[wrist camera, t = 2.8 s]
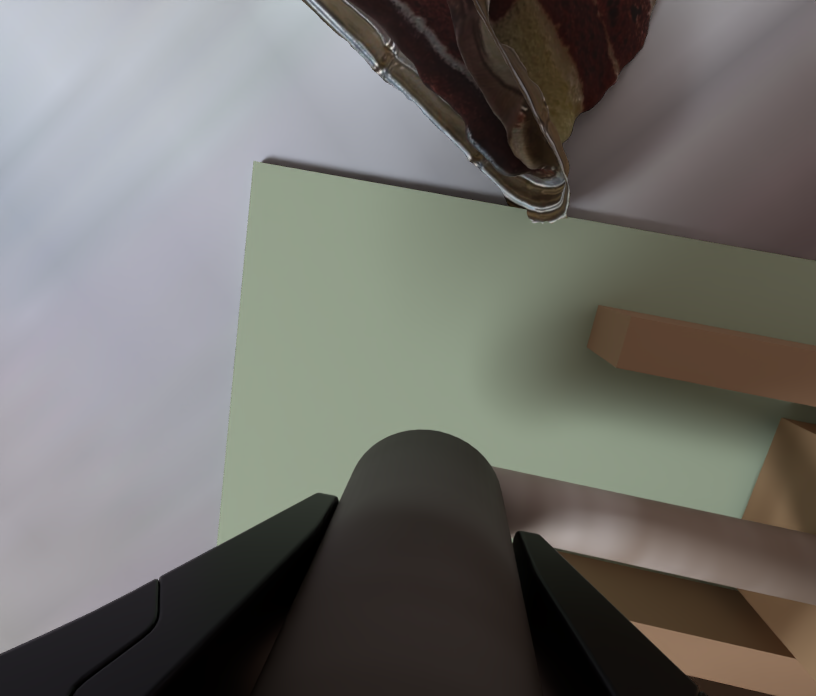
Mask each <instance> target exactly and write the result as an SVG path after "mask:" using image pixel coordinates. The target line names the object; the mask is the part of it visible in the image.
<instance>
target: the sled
mask: <svg viewBox="0 0 816 696" xmlns="http://www.w3.org/2000/svg"><path fill="white" fill-rule="evenodd" d="M517 531H526V532H531V533H537V534H539V535H541V536H542V537H543V538H544V539H545V540H546V541H547V542H548V543H549V544H550V545H551V546H552V547H553V548H558V549H562V550H567V551H571V552H576V553H580V554H585V555H590V556H594V557H599V558H603V559H608V560H612V561H617V562H621V563H626V564H630V565H635V566H639V567H644V568H648V569H653V570H657V571H662V572H666V573H671V574H676V575H680V576H685V577H689V578H694V579H698V580H703V581H707V582H712V583H716V584H721V585H725V586H730V587H734V588H737V589H738V591H739V592H740V593H741V594H742V595H743V597H744V598H745V599H746V600H747V601H748V602H749V604H750V605H751V606H752V607H753V608H754V610H755V611H756V612H757V613H758V614H759V615H760V617H761V618H762V619H763V620H764V621H765V623H766V624H767V625H768V626H769V627H770V628H771V630H772V631H773V632H774V633H775V634H776V635H777V637H778V638H779V639H780V640H781V641H782V643H783V644H784V645H785V646H786V647H787V648H788V650H789V651H790V652H791V653H792V654H793V656H794V657H795V658H796V659H797V660H798V661H799V663H800V664H801V665H802V666H803V667H804V668H805V670H806V671H807V672H808V673H809V674H810V676H811V677H812V678H813V679H814V680H815V681H816V424H811V423H806V422H801V421H796V420H791V419H786V418H781V420H780V422H779V425H778V428H777V430H776V433H775V435H774V438H773V440H772V443H771V445H770V448H769V450H768V453H767V456H766V458H765V461H764V463H763V466H762V468H761V471H760V473H759V476H758V478H757V481H756V484H755V486H754V489H753V491H752V494H751V496H750V499H749V501H748V504H747V506H746V509H745V512H744V514H743V517H742V519H739V518H735V517H730V516H725V515H721V514H716V513H711V512H706V511H702V510H697V509H692V508H688V507H683V506H678V505H673V504H669V503H664V502H659V501H655V500H650V499H645V498H640V497H636V496H631V495H626V494H622V493H617V492H612V491H607V490H603V489H598V488H593V487H589V486H584V485H579V484H574V483H570V482H565V481H560V480H556V479H551V478H546V477H541V476H537V475H532V474H527V473H522V472H518V471H513V470H508V469H504V468H499V467H494V466H491V465H490V463H489V462H488V461H487V460H486V458H485V457H484V456H483V455H482V454H481V453H480V452H479V451H478V450H477V449H475V448H474V447H473V446H471V445H470V444H469V443H467V442H465V441H463V440H462V439H460V438H458V437H455V436H453V435H451V434H448V433H444V432H440V431H435V430H423V429H417V430H407V431H403V432H399V433H396V434H393V435H390V436H388V437H386V438H384V439H382V440H380V441H379V442H377V443H376V444H375V445H373V446H372V447H371V448H370V449H369V450H368V451H367V452H365V454H364V455H363V456H362V457H361V459H360V460H359V461H358V463H357V465H356V467H355V468H354V470H353V473H352V475H351V477H350V479H349V481H348V483H347V486H346V488H345V490H344V492H343V494H342V496H341V499H340V501H339V503H338V505H337V507H336V510H335V512H334V514H333V516H332V518H331V520H330V523H329V525H328V527H327V529H326V531H325V533H324V536H323V538H322V540H321V542H320V544H319V546H318V549H317V551H316V553H315V555H314V557H313V560H312V562H311V564H310V566H309V568H308V570H307V573H306V575H305V577H304V579H303V581H302V583H301V586H300V588H299V590H298V592H297V594H296V597H295V599H294V601H293V603H292V605H291V607H290V610H289V612H288V614H287V616H286V618H285V620H284V623H283V625H282V627H281V629H280V631H279V633H278V636H277V638H276V640H275V642H274V644H273V647H272V649H271V651H270V653H269V655H268V657H267V660H266V662H265V664H264V666H263V668H262V670H261V673H260V675H259V677H258V679H257V681H256V683H255V686H254V688H253V690H252V692H251V694H250V696H543V691H542V686H541V681H540V676H539V671H538V666H537V661H536V657H535V652H534V647H533V642H532V637H531V632H530V627H529V622H528V618H527V613H526V608H525V603H524V598H523V593H522V588H521V583H520V578H519V574H518V569H517V564H516V559H515V554H514V549H513V544H512V539H511V538H514V535H515V533H516V532H517Z"/></svg>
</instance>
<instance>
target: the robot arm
mask: <svg viewBox="0 0 816 696" xmlns="http://www.w3.org/2000/svg"><path fill="white" fill-rule="evenodd" d="M338 503H339V500H338V497H337V496H335V495H330V494H324V493H315V494H313V495H311V496H310V497H308V498H306V499H304V500H302V501H300V502H298V503H296V504H295V505H293V506H291V507H289V508H287V509H285V510H283V511H282V512H280V513H278V514H276V515H274V516H272V517H270V518H268V519H267V520H265V521H263V522H261V523H259V524H257V525H255V526H254V527H252V528H250V529H248V530H246V531H244V532H242V533H240V534H239V535H237V536H235V537H233V538H231V539H229V540H227V541H226V542H224V543H222V544H220V545H218V546H216V547H214V548H212V549H211V550H209V551H207V552H205V553H203V554H201V555H199V556H198V557H196V558H194V559H192V560H190V561H188V562H186V563H184V564H183V565H181V566H179V567H177V568H175V569H173V570H171V571H170V572H168V573H166V574H164V575H162V576H161V577H160V578H159V580H158V579H154V580H152V581H150V582H149V583H147V584H145V585H143V586H141V587H139V588H137V589H136V590H134V591H132V592H130V593H128V594H126V595H124V596H122V597H120V598H118V599H116V600H114V601H112V602H110V603H108V604H106V605H104V606H102V607H100V608H99V609H97V610H95V611H93V612H91V613H88V614H86V615H84V616H82V617H80V618H78V619H76V620H74V621H71V622H69V623H67V624H65V625H63V626H61V627H59V628H56V629H54V630H52V631H50V632H48V633H46V634H44V635H41V636H39V637H37V638H35V639H32V640H30V641H28V642H26V643H24V644H21V645H19V646H17V647H15V648H12V649H10V650H8V651H6V652H3V653H1V654H0V696H250V694H251V692H252V690H253V688H254V686H255V683H256V681H257V679H258V677H259V675H260V673H261V670H262V668H263V666H264V664H265V662H266V660H267V657H268V655H269V653H270V651H271V649H272V647H273V644H274V642H275V640H276V638H277V636H278V633H279V631H280V629H281V627H282V625H283V623H284V620H285V618H286V616H287V614H288V612H289V610H290V607H291V605H292V603H293V601H294V599H295V597H296V594H297V592H298V590H299V588H300V586H301V583H302V581H303V579H304V577H305V575H306V573H307V570H308V568H309V566H310V564H311V562H312V560H313V557H314V555H315V553H316V551H317V549H318V546H319V544H320V542H321V540H322V538H323V536H324V533H325V531H326V529H327V527H328V525H329V523H330V520H331V518H332V516H333V514H334V512H335V510H336V507H337V505H338ZM512 544H513V549H514V554H515V559H516V564H517V569H518V574H519V578H520V583H521V588H522V593H523V598H524V603H525V608H526V613H527V618H528V622H529V627H530V632H531V637H532V642H533V647H534V652H535V657H536V661H537V666H538V671H539V676H540V681H541V686H542V691H543V696H708V695H707V694H706V693H705V692H702V691H701V692H699V688H698V686H697V685H696V684H695V683H694V682H693V681H692V680H691V679H690V678H689V677H688V676H687V675H686V674H685V673H684V672H682V671H681V670H680V669H679V668H678V667H677V666H676V665H675V664H674V663H673V662H672V661H671V660H670V659H669V658H668V657H667V656H666V655H665V654H664V653H663V652H662V651H661V650H660V649H659V648H657V647H656V646H655V645H654V644H653V643H652V642H651V641H650V640H649V639H648V638H647V637H646V636H645V635H644V634H643V633H642V632H641V631H640V630H639V629H638V628H637V627H636V626H635V625H633V624H632V623H631V622H630V621H629V620H628V619H627V618H626V617H625V616H624V615H623V614H622V613H621V612H620V611H619V610H618V609H617V608H616V607H615V606H614V605H613V604H612V603H611V602H610V601H608V600H607V599H606V598H605V597H604V596H603V595H602V594H601V593H600V592H599V591H598V590H597V589H596V588H595V587H594V586H593V585H592V584H591V583H590V582H589V581H588V580H587V579H586V578H585V577H583V576H582V575H581V574H580V573H579V572H578V571H577V570H576V569H575V568H574V567H573V566H572V565H571V564H570V563H569V562H568V561H567V560H566V559H565V558H564V557H563V556H562V555H561V554H559V553H558V552H557V551H556V550H555V549H554V548H553V547H552V546H551V545H550V544H549V543H548V542H547V541H546V540H545V539H544V538H543V537H542V536H541V535H539V534H537V533H531V532H526V531H517V532H516V533H515V535H514V538H513V542H512Z"/></svg>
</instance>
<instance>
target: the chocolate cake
mask: <svg viewBox="0 0 816 696" xmlns="http://www.w3.org/2000/svg"><path fill="white" fill-rule="evenodd" d="M302 1H303V2H304V3H305V4H306V5H307V6H309V7H310V8H311V9H312V10H313V11H314V12H315V13H316V14H317V15H318V16H319V17H320V18H321V19H322V20H323V21H324V22H325V23H326V24H327V25H328V26H329V27H330V28H331V29H332V30H333V31H335V32H336V33H337V34H338V35H339V36H341V37H342V38H344V39H345V40H346V41H348V42H349V44H350V45H351V47H352V48H353V49H355V50H356V51H357V52H358V53H359V54H360V55H361V56H362V57H363V58H364V59H365V60H366V61H367V63H368V64H369V65H370V66H371V68H372V69H373V70H374V71H375V72H376V73H377V74H378V75H379V76H380V77H381V78H382V79H383V80H384V81H385V82H387V83H389V84H390V85H392V86H393V87H395V88H396V89H398V90H400V91H401V92H403V93H404V95H405V96H406V98H407V99H409V100H411V101H413V102H414V103H415V104H416V105H417V106H418V107H419V108H420V109H421V110H422V112H423V113H424V114H425V115H426V116H427V117H428V118H429V119H430V120H431V121H432V122H433V123H434V125H435V126H437V127H438V128H439V129H440V130H441V131H442V132H443V133H444V134H446V135H447V136H448V137H449V138H450V140H451V141H453V142H454V143H455V144H456V145H457V146H458V147H459V148H460V149H461V150H462V151H463V152H464V153H465V155H466V156H467V158H468V160H469V161H470V162H472V163H473V164H475V165H476V166H477V167H478V168H479V169H480V170H481V171H482V172H483V173H485V174H486V175H487V176H488V177H489V178H490V179H491V180H492V181H494V182H495V184H496V185H497V186H498V187H499V188H500V189H501V191H502V193H503V194H504V197H505V199H506V202H507V204H508V206H509V207H515V208H521V209H526V210H527V216H528V218H529V219H530V220H531V221H532V223H538V222H541V223H542V224H543V223H544V222H545V221H548V222H549V223H551V224H553V223H554V222H555V221H556V220H557V219H558V221H559V219H565V218H567V214H566V211H567V208H568V207H569V205H568V202H569V197H570V190H569V184H568V182H567V180H568V179H567V177H568V173H569V161H568V159H567V156H566V154H565V152H564V150H563V146H562V143H564V142H565V141H566V140H567V139H568V138H569V136H570V135H571V133H572V129H573V124H574V121H575V119H576V118H577V117H578V115H579V114H580V113H582V112H586V111H588V110H590V109H591V108H593V107H594V106H595V105H596V104H597V103H598V102H599V101H600V100H601V99H602V97H603V96H604V94H605V92H606V91H607V90H608V89H609V88H610V87H611V86H612V85H614V84H615V83H616V81H617V79H618V75H619V73H620V72H621V70H622V69H623V68H624V66H625V65H627V64H628V63H629V62H630V61H631V60H632V59H633V58H634V57H635V56H636V54H637V53H638V52H639V51H640V50H641V48H642V47H643V45H644V41H645V38H646V36H647V32H648V27H649V21H650V16H651V13H652V11H653V8H654V6H655V3H656V0H302Z"/></svg>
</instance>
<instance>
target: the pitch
mask: <svg viewBox="0 0 816 696" xmlns="http://www.w3.org/2000/svg"><path fill="white" fill-rule="evenodd" d="M781 418H786V419H791V420H796V421H801V422H806V423H811V424H816V261H814V260H808V259H803V258H797V257H791V256H786V255H780V254H774V253H769V252H763V251H758V250H752V249H746V248H741V247H735V246H729V245H724V244H718V243H712V242H707V241H701V240H696V239H690V238H684V237H679V236H673V235H667V234H662V233H656V232H650V231H645V230H639V229H633V228H628V227H622V226H617V225H611V224H605V223H600V222H594V221H588V220H583V219H577V218H571V217H567V218H565V219H559V221H558V219H557V220H556V221H555V222H554V223H553V224H551V223H549V222H548V221H545V222H544V223H543V224H542V223H541V222H538V223H532V221H531V220H530V219H529V218H528V216H527V210H526V209H521V208H515V207H509V206H504V205H498V204H493V203H487V202H481V201H476V200H470V199H464V198H459V197H453V196H447V195H442V194H436V193H430V192H425V191H419V190H414V189H408V188H402V187H397V186H391V185H385V184H380V183H374V182H368V181H363V180H357V179H352V178H346V177H340V176H335V175H329V174H323V173H318V172H312V171H306V170H301V169H295V168H289V167H284V166H278V165H273V164H267V163H261V162H256V161H254V163H253V173H252V183H251V194H250V204H249V215H248V225H247V236H246V246H245V257H244V267H243V278H242V288H241V299H240V309H239V320H238V330H237V340H236V351H235V361H234V372H233V382H232V393H231V403H230V414H229V424H228V435H227V445H226V456H225V466H224V477H223V487H222V497H221V508H220V518H219V529H218V539H217V546H218V545H220V544H222V543H224V542H226V541H227V540H229V539H231V538H233V537H235V536H237V535H239V534H240V533H242V532H244V531H246V530H248V529H250V528H252V527H254V526H255V525H257V524H259V523H261V522H263V521H265V520H267V519H268V518H270V517H272V516H274V515H276V514H278V513H280V512H282V511H283V510H285V509H287V508H289V507H291V506H293V505H295V504H296V503H298V502H300V501H302V500H304V499H306V498H308V497H310V496H311V495H313V494H315V493H324V494H330V495H335V496H337V497H338V500H339V501H340V499H341V496H342V494H343V492H344V490H345V488H346V486H347V483H348V481H349V479H350V477H351V475H352V473H353V470H354V468H355V467H356V465H357V463H358V461H359V460H360V459H361V457H362V456H363V455H364V454H365V452H367V451H368V450H369V449H370V448H371V447H372V446H373V445H375V444H376V443H377V442H379V441H380V440H382V439H384V438H386V437H388V436H390V435H393V434H396V433H399V432H403V431H407V430H417V429H423V430H435V431H440V432H444V433H448V434H451V435H453V436H455V437H458V438H460V439H462V440H463V441H465V442H467V443H469V444H470V445H471V446H473V447H474V448H475V449H477V450H478V451H479V452H480V453H481V454H482V455H483V456H484V457H485V458H486V460H487V461H488V462H489V463H490V465H491V466H494V467H499V468H504V469H508V470H513V471H518V472H522V473H527V474H532V475H537V476H541V477H546V478H551V479H556V480H560V481H565V482H570V483H574V484H579V485H584V486H589V487H593V488H598V489H603V490H607V491H612V492H617V493H622V494H626V495H631V496H636V497H640V498H645V499H650V500H655V501H659V502H664V503H669V504H673V505H678V506H683V507H688V508H692V509H697V510H702V511H706V512H711V513H716V514H721V515H725V516H730V517H735V518H739V519H742V517H743V514H744V512H745V509H746V506H747V504H748V501H749V499H750V496H751V494H752V491H753V489H754V486H755V484H756V481H757V478H758V476H759V473H760V471H761V468H762V466H763V463H764V461H765V458H766V456H767V453H768V450H769V448H770V445H771V443H772V440H773V438H774V435H775V433H776V430H777V428H778V425H779V422H780V420H781ZM511 539H512V542H513V538H511ZM554 549H555V550H556V551H557V552H558V553H559V554H561V555H562V556H563V557H564V558H565V559H566V560H567V561H568V562H569V563H570V564H571V565H572V566H573V567H574V568H575V569H576V570H577V571H578V572H579V573H580V574H581V575H582V576H583V577H585V578H586V579H587V580H588V581H589V582H590V583H591V584H592V585H593V586H594V587H595V588H596V589H597V590H598V591H599V592H600V593H601V594H602V595H603V596H604V597H605V598H606V599H607V600H608V601H610V602H611V603H612V604H613V605H614V606H615V607H616V608H617V609H618V610H619V611H620V612H621V613H622V614H623V615H624V616H625V617H626V618H627V619H628V620H629V621H630V622H631V623H632V624H633V625H635V626H636V627H637V628H638V629H639V630H640V631H641V632H642V633H643V634H644V635H645V636H646V637H647V638H648V639H649V640H650V641H651V642H652V643H653V644H654V645H655V646H656V647H657V648H659V649H660V650H661V651H662V652H663V653H664V654H665V655H666V656H667V657H668V658H669V659H670V660H671V661H672V662H673V663H674V664H675V665H676V666H677V667H678V668H679V669H680V670H681V671H682V672H684V673H685V674H686V675H689V676H694V677H698V678H702V679H706V680H711V681H715V682H719V683H724V684H728V685H732V686H736V687H741V688H745V689H749V690H753V691H758V692H762V693H766V694H771V695H775V696H816V681H815V680H814V679H813V678H812V677H811V676H810V674H809V673H808V672H807V671H806V670H805V668H804V667H803V666H802V665H801V664H800V663H799V661H798V660H797V659H796V658H795V657H794V656H793V654H792V653H791V652H790V651H789V650H788V648H787V647H786V646H785V645H784V644H783V643H782V641H781V640H780V639H779V638H778V637H777V635H776V634H775V633H774V632H773V631H772V630H771V628H770V627H769V626H768V625H767V624H766V623H765V621H764V620H763V619H762V618H761V617H760V615H759V614H758V613H757V612H756V611H755V610H754V608H753V607H752V606H751V605H750V604H749V602H748V601H747V600H746V599H745V598H744V597H743V595H742V594H741V593H740V592H739V591H738V589H737V588H734V587H730V586H725V585H721V584H716V583H712V582H707V581H703V580H698V579H694V578H689V577H685V576H680V575H676V574H671V573H666V572H662V571H657V570H653V569H648V568H644V567H639V566H635V565H630V564H626V563H621V562H617V561H612V560H608V559H603V558H599V557H594V556H590V555H585V554H580V553H576V552H571V551H567V550H562V549H558V548H554Z"/></svg>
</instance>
